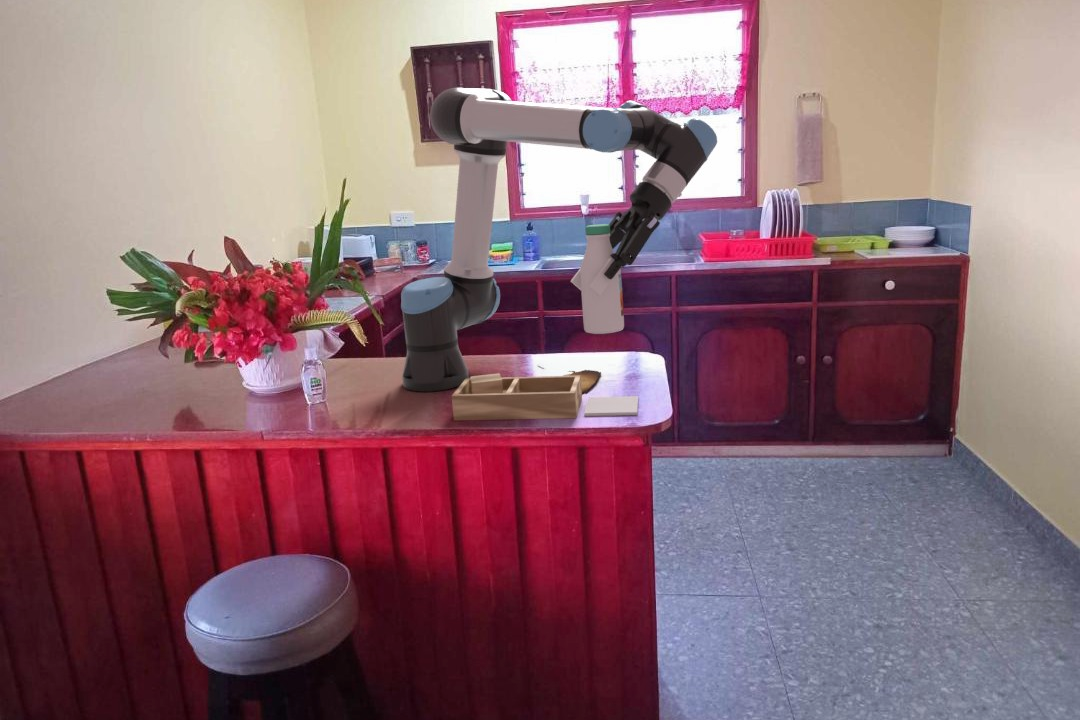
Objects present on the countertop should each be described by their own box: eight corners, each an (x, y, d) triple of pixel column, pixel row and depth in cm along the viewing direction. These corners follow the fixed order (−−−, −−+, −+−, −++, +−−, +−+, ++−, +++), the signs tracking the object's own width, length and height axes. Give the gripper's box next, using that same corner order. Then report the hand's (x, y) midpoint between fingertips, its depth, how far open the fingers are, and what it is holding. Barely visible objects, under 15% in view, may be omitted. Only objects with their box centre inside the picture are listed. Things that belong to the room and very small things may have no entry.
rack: (468, 401, 165) (465, 378, 164) (581, 398, 161) (580, 375, 160) (454, 420, 154) (451, 396, 152) (576, 418, 150) (574, 392, 149)
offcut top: (471, 393, 160) (470, 376, 159) (501, 389, 160) (499, 373, 160) (473, 400, 155) (471, 383, 154) (503, 396, 156) (502, 379, 155)
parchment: (568, 371, 183) (568, 368, 183) (609, 371, 180) (608, 368, 179) (530, 406, 161) (529, 402, 161) (575, 407, 158) (575, 403, 157)
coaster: (588, 400, 160) (588, 397, 160) (638, 398, 159) (638, 396, 158) (584, 416, 151) (584, 413, 150) (637, 415, 149) (637, 412, 149)
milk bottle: (618, 334, 146) (612, 225, 141) (579, 334, 148) (571, 228, 144) (628, 325, 153) (622, 221, 148) (590, 326, 155) (583, 224, 151)
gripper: (698, 206, 141) (623, 307, 140) (643, 204, 160) (576, 293, 158) (671, 179, 138) (594, 282, 136) (618, 180, 157) (550, 270, 155)
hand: (584, 288), depth 147 cm, fingers closed on milk bottle, 8 cm apart
